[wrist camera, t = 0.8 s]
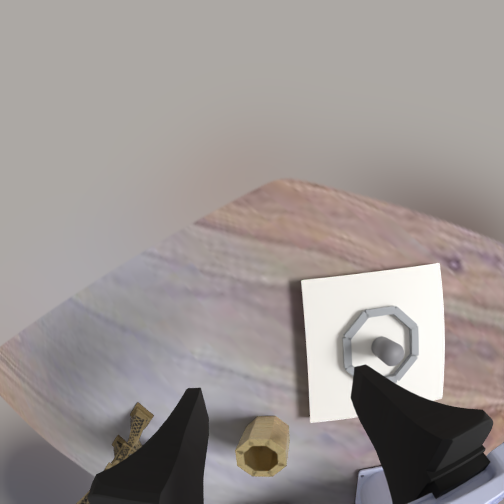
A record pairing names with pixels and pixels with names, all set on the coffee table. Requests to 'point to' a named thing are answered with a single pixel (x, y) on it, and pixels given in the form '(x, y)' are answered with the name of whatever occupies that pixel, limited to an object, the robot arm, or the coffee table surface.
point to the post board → (373, 334)
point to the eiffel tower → (121, 447)
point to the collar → (263, 447)
